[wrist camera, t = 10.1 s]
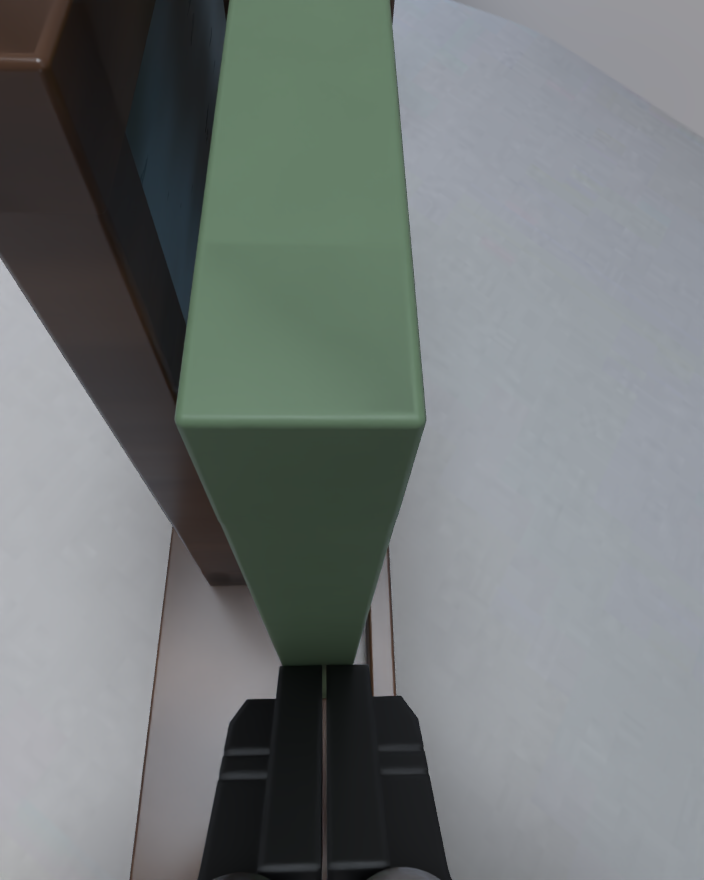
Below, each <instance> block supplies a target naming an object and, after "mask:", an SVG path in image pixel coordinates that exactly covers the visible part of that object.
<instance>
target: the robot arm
mask: <svg viewBox="0 0 704 880" xmlns="http://www.w3.org/2000/svg"><path fill="white" fill-rule="evenodd" d="M326 743H327V880H452V879H451V877H450V874H449V870H448V867H447V862H446V857H445V852H444V847H443V842H442V837H441V832H440V827H439V822H438V817H437V812H436V807H435V801H434V796H433V791H432V786H431V781H430V776H429V775H428V766H427V761H426V756H425V751H424V749H423V741H422V736H421V731H420V726H419V721H418V718H417V717H416V715H415V714H414V713H413V711H412V710H411V709H410V707H409V706H408V705H407V703H406V702H405V701H404V699H403V698H402V697H401V696H372V690H371V680H370V671H369V665H368V664H352V665H326ZM322 786H323V735H322V665H310V666H280V667H279V674H278V683H277V692H276V699H247V700H246V701H245V702H244V704H243V705H242V706H241V708H240V709H239V710H238V712H237V713H236V715H235V716H234V717H233V719H232V720H231V721H230V723H229V726H228V731H227V736H226V741H225V746H224V755H223V757H222V761H221V766H220V771H219V780H218V781H217V786H216V791H215V796H214V801H213V806H212V811H211V816H210V821H209V826H208V831H207V836H206V841H205V846H204V851H203V856H202V861H201V866H200V871H199V876H198V879H197V880H322Z"/></svg>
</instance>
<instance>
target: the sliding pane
mask: <svg viewBox="0 0 704 880" xmlns="http://www.w3.org/2000/svg"><path fill="white" fill-rule="evenodd" d="M174 420H175V423H176V426H177V428H178V431H179V433H180V435H181V437H182V440H183V442H184V444H185V446H186V449H187V451H188V453H189V456H190V458H191V460H192V462H193V465H194V467H195V469H196V471H197V474H198V476H199V478H200V481H201V483H202V485H203V487H204V490H205V492H206V494H207V496H208V499H209V501H210V503H211V506H212V508H213V510H214V512H215V515H216V517H217V519H218V521H219V522H220V524H221V526H222V529H223V531H224V533H225V536H226V538H227V540H228V542H229V545H230V547H231V549H232V552H233V554H234V556H235V559H236V561H237V563H238V565H239V568H240V570H241V572H242V575H243V577H244V579H245V581H246V584H247V586H248V588H249V591H250V593H251V595H252V597H253V600H254V602H255V604H256V607H257V609H258V611H259V614H260V616H261V618H262V620H263V623H264V625H265V627H266V630H267V632H268V634H269V636H270V639H271V641H272V643H273V646H274V648H275V650H276V652H277V655H278V657H279V659H280V662H281V664H282V666H310V665H322V698H326V665H352V664H354V660H355V657H356V654H357V650H358V647H359V644H360V640H361V637H362V633H363V630H364V627H365V623H366V620H367V616H368V613H369V610H370V606H371V603H372V600H373V596H374V593H375V589H376V586H377V583H378V579H379V576H380V572H381V569H382V566H383V562H384V559H385V556H386V552H387V549H388V545H389V542H390V539H391V535H392V532H393V528H394V525H395V522H396V519H397V517H398V514H399V510H400V507H401V504H402V500H403V497H404V494H405V490H406V487H407V483H408V480H409V477H410V473H411V470H412V467H413V463H414V460H415V457H416V453H417V450H418V447H419V443H420V440H421V437H422V433H423V430H424V426H425V423H426V410H425V398H424V387H423V375H422V364H421V352H420V341H419V329H418V318H417V306H416V295H415V283H414V271H413V260H412V248H411V237H410V225H409V214H408V202H407V191H406V179H405V167H404V156H403V144H402V133H401V121H400V110H399V98H398V87H397V75H396V64H395V52H394V40H393V29H392V17H391V6H390V0H229V6H228V14H227V22H226V29H225V37H224V44H223V52H222V60H221V67H220V75H219V83H218V90H217V98H216V105H215V113H214V121H213V128H212V136H211V143H210V151H209V159H208V166H207V174H206V182H205V189H204V197H203V204H202V212H201V220H200V227H199V235H198V243H197V250H196V258H195V265H194V273H193V281H192V288H191V296H190V304H189V311H188V319H187V326H186V334H185V342H184V349H183V357H182V365H181V372H180V380H179V387H178V395H177V403H176V410H175V418H174Z"/></svg>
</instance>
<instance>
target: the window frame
mask: <svg viewBox="0 0 704 880" xmlns="http://www.w3.org/2000/svg"><path fill="white" fill-rule="evenodd" d="M394 1H395V0H390V6H391V17H392V23H393V12H394ZM228 6H229V0H0V258H1V260H2V261H3V263H4V264H5V266H6V267H7V269H8V271H9V272H10V274H11V275H12V277H13V278H14V280H15V281H16V283H17V285H18V286H19V288H20V289H21V291H22V292H23V294H24V295H25V297H26V299H27V300H28V302H29V303H30V305H31V306H32V308H33V309H34V311H35V313H36V314H37V316H38V317H39V319H40V320H41V322H42V323H43V325H44V327H45V328H46V330H47V331H48V333H49V334H50V336H51V337H52V339H53V341H54V342H55V344H56V345H57V347H58V348H59V350H60V351H61V353H62V355H63V356H64V358H65V359H66V361H67V362H68V364H69V366H70V367H71V369H72V370H73V372H74V373H75V375H76V376H77V378H78V380H79V381H80V383H81V384H82V386H83V387H84V389H85V390H86V392H87V394H88V395H89V397H90V398H91V400H92V401H93V403H94V404H95V406H96V408H97V409H98V411H99V412H100V414H101V415H102V417H103V418H104V420H105V422H106V423H107V425H108V426H109V428H110V429H111V431H112V432H113V434H114V436H115V437H116V439H117V440H118V442H119V443H120V445H121V446H122V448H123V450H124V451H125V453H126V454H127V456H128V457H129V459H130V460H131V462H132V464H133V465H134V467H135V468H136V470H137V471H138V473H139V474H140V476H141V478H142V479H143V481H144V482H145V484H146V485H147V487H148V488H149V490H150V492H151V493H152V495H153V496H154V498H155V499H156V501H157V502H158V504H159V506H160V507H161V509H162V510H163V512H164V513H165V515H166V516H167V518H168V520H169V521H170V523H171V524H172V535H171V543H170V551H169V559H168V567H167V576H166V584H165V592H164V600H163V609H162V617H161V625H160V633H159V642H158V650H157V658H156V666H155V674H154V683H153V691H152V699H151V707H150V716H149V724H148V732H147V740H146V748H145V757H144V765H143V773H142V781H141V790H140V798H139V806H138V814H137V823H136V831H135V839H134V847H133V855H132V864H131V872H130V880H197V879H198V876H199V871H200V866H201V861H202V856H203V851H204V846H205V841H206V836H207V831H208V826H209V821H210V816H211V811H212V806H213V801H214V796H215V791H216V786H217V781H218V780H219V771H220V766H221V761H222V757H223V755H224V746H225V741H226V736H227V731H228V726H229V723H230V721H231V720H232V719H233V717H234V716H235V715H236V713H237V712H238V710H239V709H240V708H241V706H242V705H243V704H244V702H245V701H246V700H247V699H276V692H277V683H278V674H279V667H280V666H282V664H281V662H280V659H279V657H278V655H277V652H276V650H275V648H274V646H273V643H272V641H271V639H270V636H269V634H268V632H267V630H266V627H265V625H264V623H263V620H262V618H261V616H260V614H259V611H258V609H257V607H256V604H255V602H254V600H253V597H252V595H251V593H250V591H249V588H248V586H247V584H246V581H245V579H244V577H243V575H242V572H241V570H240V568H239V565H238V563H237V561H236V559H235V556H234V554H233V552H232V549H231V547H230V545H229V542H228V540H227V538H226V536H225V533H224V531H223V529H222V526H221V524H220V522H219V521H218V519H217V517H216V515H215V512H214V510H213V508H212V506H211V503H210V501H209V499H208V496H207V494H206V492H205V490H204V487H203V485H202V483H201V481H200V478H199V476H198V474H197V471H196V469H195V467H194V465H193V462H192V460H191V458H190V456H189V453H188V451H187V449H186V446H185V444H184V442H183V440H182V437H181V435H180V433H179V431H178V428H177V426H176V423H175V420H174V418H175V410H176V403H177V395H178V387H179V380H180V372H181V365H182V357H183V349H184V342H185V334H186V326H187V319H188V311H189V304H190V296H191V288H192V281H193V273H194V265H195V258H196V250H197V243H198V235H199V227H200V220H201V212H202V204H203V197H204V189H205V182H206V174H207V166H208V159H209V151H210V143H211V136H212V128H213V121H214V113H215V105H216V98H217V90H218V83H219V75H220V67H221V60H222V52H223V44H224V37H225V29H226V22H227V14H228ZM354 664H368V665H369V671H370V680H371V690H372V696H396V681H395V660H394V640H393V619H392V599H391V578H390V558H389V545H388V549H387V552H386V556H385V559H384V562H383V566H382V569H381V572H380V576H379V579H378V583H377V586H376V589H375V593H374V596H373V600H372V603H371V606H370V610H369V613H368V616H367V620H366V623H365V627H364V630H363V633H362V637H361V640H360V644H359V647H358V650H357V654H356V657H355V660H354ZM322 735H323V786H322V880H327V743H326V698H322Z"/></svg>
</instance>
